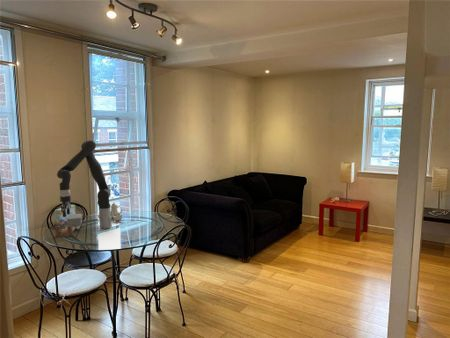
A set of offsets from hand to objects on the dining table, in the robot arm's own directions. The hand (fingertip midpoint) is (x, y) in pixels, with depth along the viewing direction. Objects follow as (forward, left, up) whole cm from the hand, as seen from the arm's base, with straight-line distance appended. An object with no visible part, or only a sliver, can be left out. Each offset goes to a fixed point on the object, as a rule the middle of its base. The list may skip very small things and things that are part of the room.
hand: (66, 215), depth 261 cm
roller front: (0, -6, -15) cm, 16 cm away
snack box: (+13, -34, -16) cm, 40 cm away
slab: (-1, -16, -11) cm, 20 cm away
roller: (0, 0, -15) cm, 15 cm away
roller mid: (-2, -12, -15) cm, 19 cm away
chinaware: (-25, -42, -16) cm, 52 cm away
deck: (0, -7, -16) cm, 17 cm away
